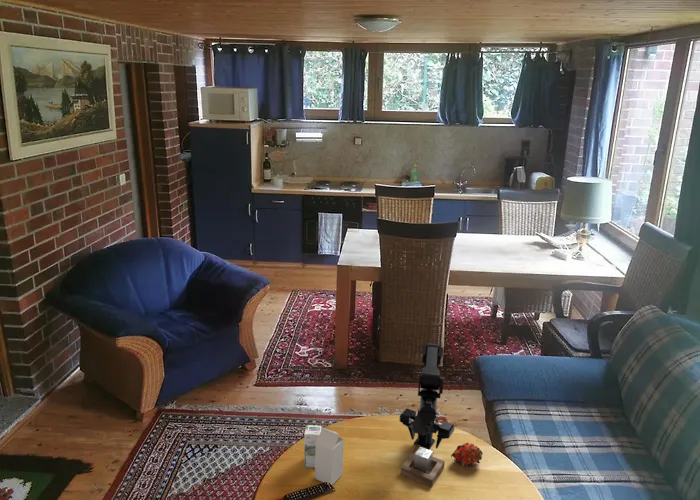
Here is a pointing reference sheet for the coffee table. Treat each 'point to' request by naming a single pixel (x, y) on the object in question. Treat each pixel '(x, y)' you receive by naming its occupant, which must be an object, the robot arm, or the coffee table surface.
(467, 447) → the dragon fruit
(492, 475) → the coffee table surface
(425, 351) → the robot arm
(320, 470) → the milk carton
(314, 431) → the syrup box
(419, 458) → the rectangular block
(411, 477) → the well block
